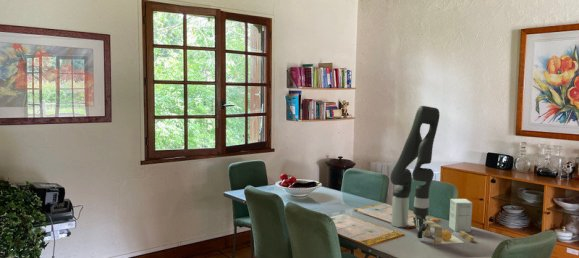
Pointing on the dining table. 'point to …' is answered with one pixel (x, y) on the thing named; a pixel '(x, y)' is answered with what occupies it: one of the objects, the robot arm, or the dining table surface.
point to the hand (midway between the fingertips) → (419, 237)
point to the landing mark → (451, 240)
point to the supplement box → (460, 215)
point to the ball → (446, 235)
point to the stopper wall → (466, 236)
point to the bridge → (437, 231)
